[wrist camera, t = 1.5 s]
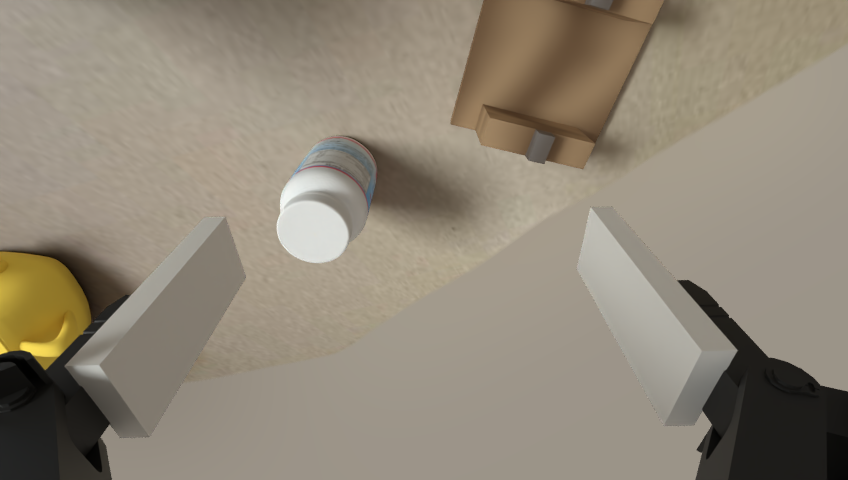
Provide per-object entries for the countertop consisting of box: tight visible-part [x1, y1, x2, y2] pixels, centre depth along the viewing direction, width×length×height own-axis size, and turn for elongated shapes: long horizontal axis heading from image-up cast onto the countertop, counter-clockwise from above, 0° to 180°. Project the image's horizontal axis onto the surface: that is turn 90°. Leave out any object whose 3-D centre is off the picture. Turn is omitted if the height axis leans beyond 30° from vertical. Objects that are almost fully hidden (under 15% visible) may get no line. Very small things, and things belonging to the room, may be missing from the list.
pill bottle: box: [277, 136, 377, 263], centre depth 30 cm, size 6×6×11 cm
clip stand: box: [451, 0, 664, 169], centre depth 28 cm, size 12×12×6 cm
